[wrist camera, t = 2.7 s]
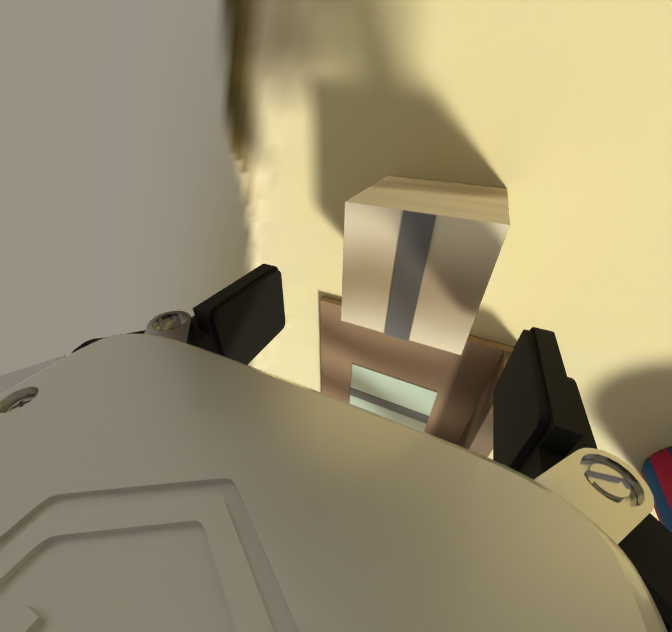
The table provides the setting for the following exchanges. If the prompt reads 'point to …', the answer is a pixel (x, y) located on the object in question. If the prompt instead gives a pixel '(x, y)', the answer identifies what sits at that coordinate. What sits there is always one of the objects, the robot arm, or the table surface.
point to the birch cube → (421, 257)
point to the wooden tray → (413, 379)
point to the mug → (660, 484)
